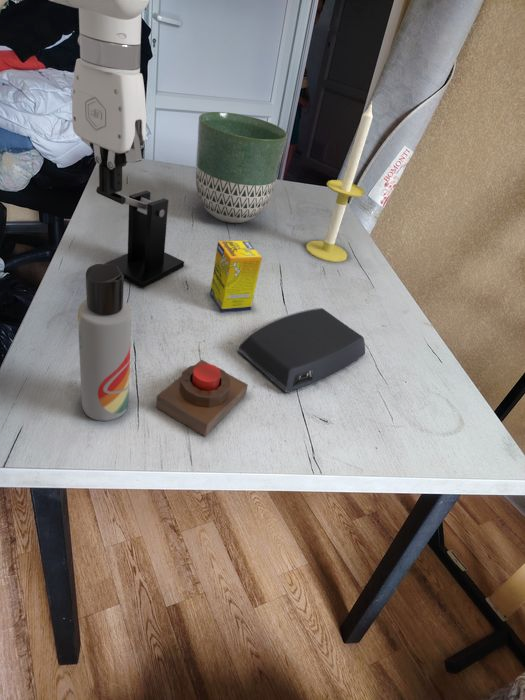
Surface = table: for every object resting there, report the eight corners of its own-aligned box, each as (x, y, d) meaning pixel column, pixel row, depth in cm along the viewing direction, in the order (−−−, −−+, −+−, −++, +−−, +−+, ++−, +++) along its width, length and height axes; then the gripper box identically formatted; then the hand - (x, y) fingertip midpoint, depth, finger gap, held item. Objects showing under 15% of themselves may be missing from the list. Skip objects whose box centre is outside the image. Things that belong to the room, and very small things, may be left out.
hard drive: (232, 348, 76) (236, 328, 74) (313, 318, 88) (319, 299, 86) (288, 398, 70) (294, 377, 67) (367, 358, 82) (375, 339, 79)
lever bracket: (142, 288, 85) (146, 215, 77) (104, 269, 87) (103, 196, 79) (183, 266, 94) (191, 199, 86) (147, 249, 96) (151, 182, 88)
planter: (183, 226, 108) (192, 126, 95) (195, 196, 124) (205, 106, 111) (267, 242, 110) (288, 146, 97) (268, 210, 125) (286, 124, 113)
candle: (352, 252, 115) (402, 106, 96) (338, 266, 107) (389, 111, 88) (315, 237, 118) (356, 92, 98) (299, 250, 110) (340, 95, 91)
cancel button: (208, 395, 62) (210, 385, 61) (186, 382, 63) (187, 372, 62) (224, 381, 64) (226, 371, 63) (202, 369, 65) (203, 359, 64)
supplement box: (208, 294, 88) (217, 240, 81) (238, 292, 90) (249, 239, 84) (220, 313, 84) (230, 257, 77) (251, 310, 86) (263, 256, 80)
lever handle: (118, 207, 73) (123, 192, 73) (93, 196, 75) (98, 181, 74) (162, 220, 84) (166, 207, 84) (139, 210, 86) (144, 197, 85)
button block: (205, 437, 61) (209, 415, 58) (155, 407, 63) (157, 385, 61) (245, 395, 68) (250, 374, 66) (200, 370, 71) (203, 349, 68)
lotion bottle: (136, 411, 62) (143, 277, 50) (94, 428, 58) (91, 288, 47) (115, 385, 65) (116, 252, 53) (74, 399, 61) (66, 261, 49)
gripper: (46, 40, 62) (56, 179, 73) (135, 70, 58) (131, 214, 69) (89, 41, 68) (92, 170, 79) (173, 69, 63) (164, 202, 74)
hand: (110, 190), depth 74 cm, fingers closed
